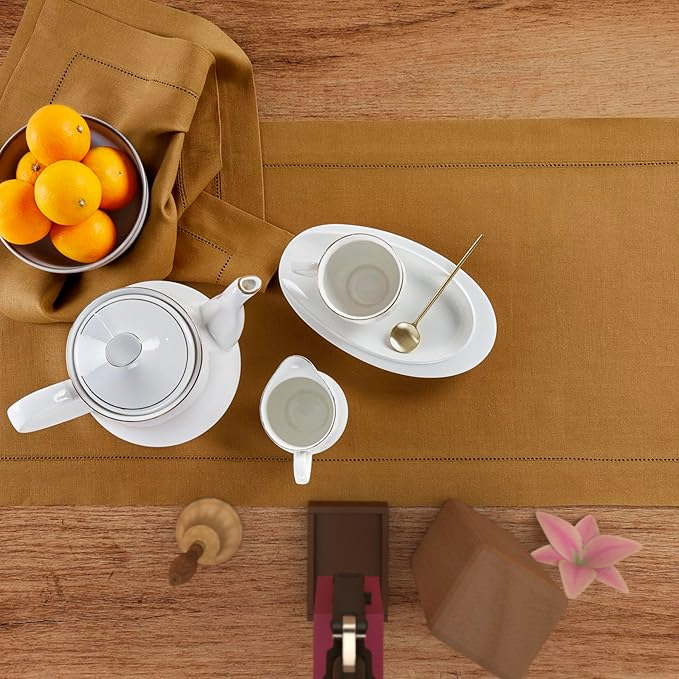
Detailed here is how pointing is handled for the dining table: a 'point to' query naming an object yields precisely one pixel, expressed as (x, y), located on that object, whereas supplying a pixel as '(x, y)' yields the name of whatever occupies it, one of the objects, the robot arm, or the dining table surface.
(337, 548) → the tray
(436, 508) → the dining table surface
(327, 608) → the pink block
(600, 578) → the lily
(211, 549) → the hand bell
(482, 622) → the wooden block
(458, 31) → the dining table surface
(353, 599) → the robot arm
